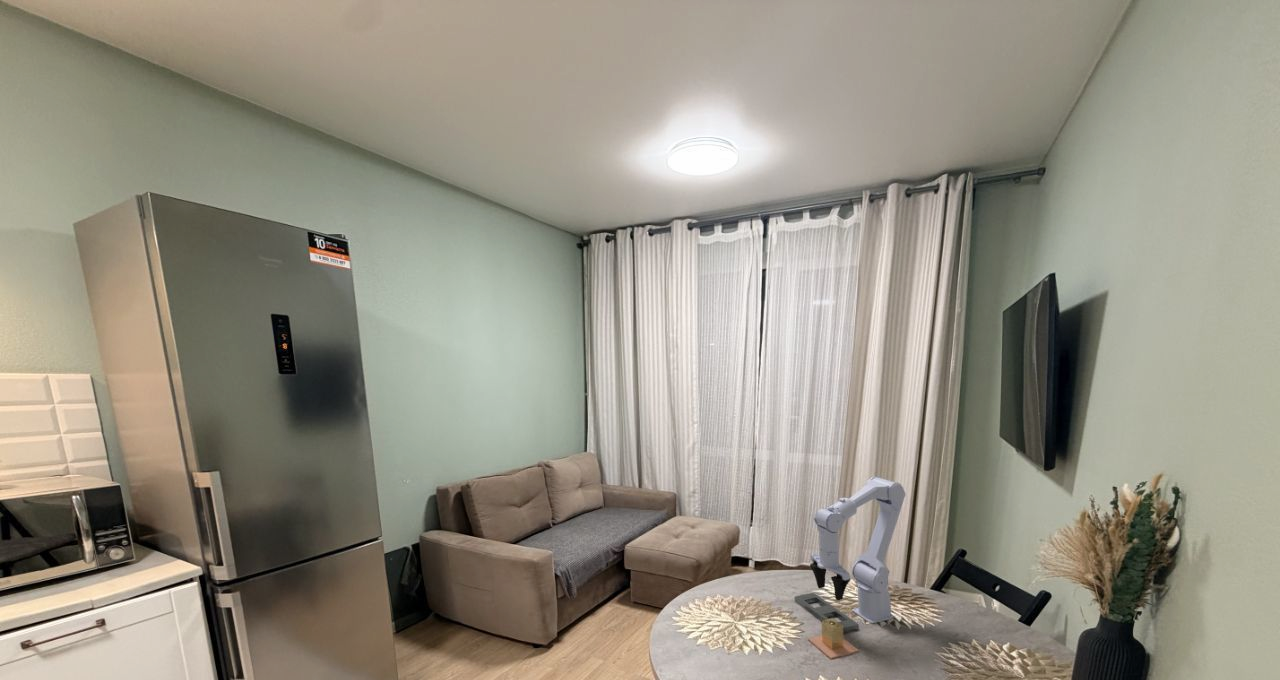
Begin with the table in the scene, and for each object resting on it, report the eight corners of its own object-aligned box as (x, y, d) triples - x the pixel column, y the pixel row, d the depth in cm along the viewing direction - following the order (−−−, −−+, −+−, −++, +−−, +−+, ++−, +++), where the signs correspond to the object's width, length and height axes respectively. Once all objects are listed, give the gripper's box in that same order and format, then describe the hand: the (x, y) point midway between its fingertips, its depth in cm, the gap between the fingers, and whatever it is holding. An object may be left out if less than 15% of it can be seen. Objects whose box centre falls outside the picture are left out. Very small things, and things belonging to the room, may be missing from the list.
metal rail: (813, 597, 155) (813, 592, 155) (858, 629, 136) (858, 624, 136) (794, 600, 152) (794, 596, 152) (837, 634, 133) (837, 629, 134)
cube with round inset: (833, 639, 130) (832, 617, 131) (843, 647, 127) (843, 625, 127) (822, 641, 129) (821, 620, 130) (832, 650, 125) (831, 627, 126)
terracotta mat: (835, 633, 134) (835, 632, 134) (858, 651, 125) (858, 650, 125) (808, 640, 131) (808, 638, 131) (830, 659, 122) (830, 657, 122)
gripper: (802, 542, 146) (803, 584, 145) (836, 560, 132) (837, 607, 131) (820, 539, 148) (821, 581, 147) (854, 557, 134) (855, 603, 134)
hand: (829, 593), depth 139 cm, fingers open, 7 cm apart
